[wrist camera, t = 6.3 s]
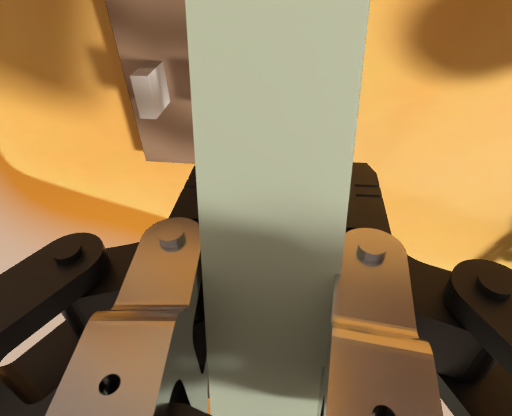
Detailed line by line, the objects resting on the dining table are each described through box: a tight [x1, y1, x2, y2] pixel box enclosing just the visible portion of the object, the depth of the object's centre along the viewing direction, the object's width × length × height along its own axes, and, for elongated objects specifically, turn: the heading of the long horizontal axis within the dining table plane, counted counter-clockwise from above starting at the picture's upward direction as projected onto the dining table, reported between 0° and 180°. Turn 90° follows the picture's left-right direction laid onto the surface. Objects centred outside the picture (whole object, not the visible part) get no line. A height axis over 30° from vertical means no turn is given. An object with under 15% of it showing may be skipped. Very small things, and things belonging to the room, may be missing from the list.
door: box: [185, 0, 370, 416], centre depth 10 cm, size 13×4×8 cm, turn 2°
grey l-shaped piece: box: [105, 0, 195, 164], centre depth 20 cm, size 22×10×12 cm, turn 1°
